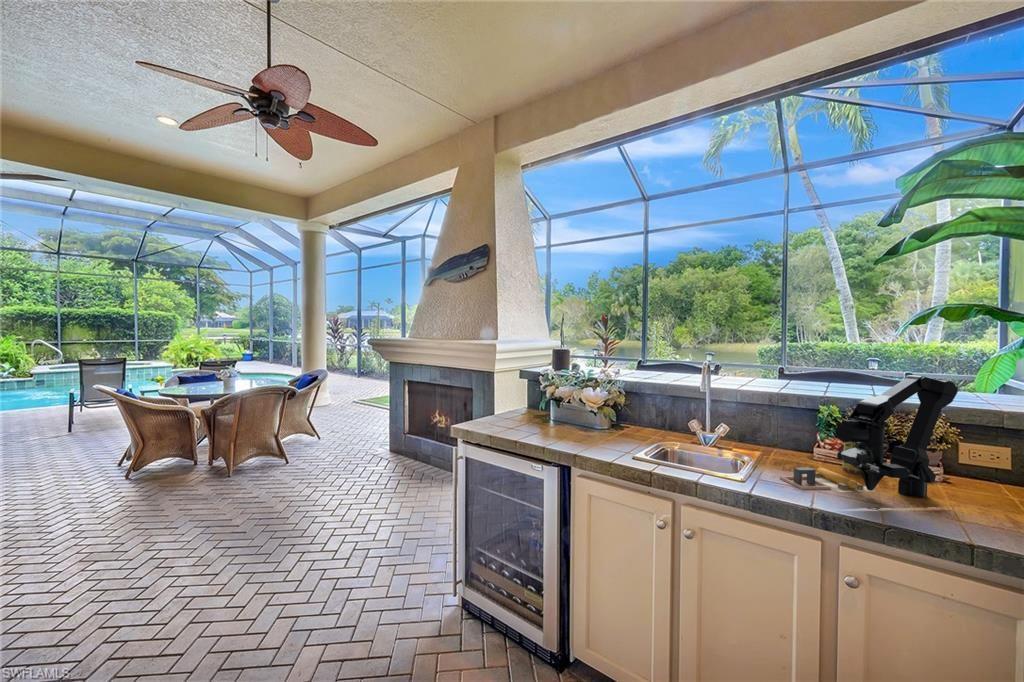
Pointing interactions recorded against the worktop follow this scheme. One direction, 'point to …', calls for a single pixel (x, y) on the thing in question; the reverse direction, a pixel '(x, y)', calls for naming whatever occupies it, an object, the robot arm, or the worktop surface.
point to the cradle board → (840, 485)
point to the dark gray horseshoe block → (800, 471)
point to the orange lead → (837, 478)
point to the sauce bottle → (847, 466)
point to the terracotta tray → (822, 486)
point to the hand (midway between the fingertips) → (870, 490)
